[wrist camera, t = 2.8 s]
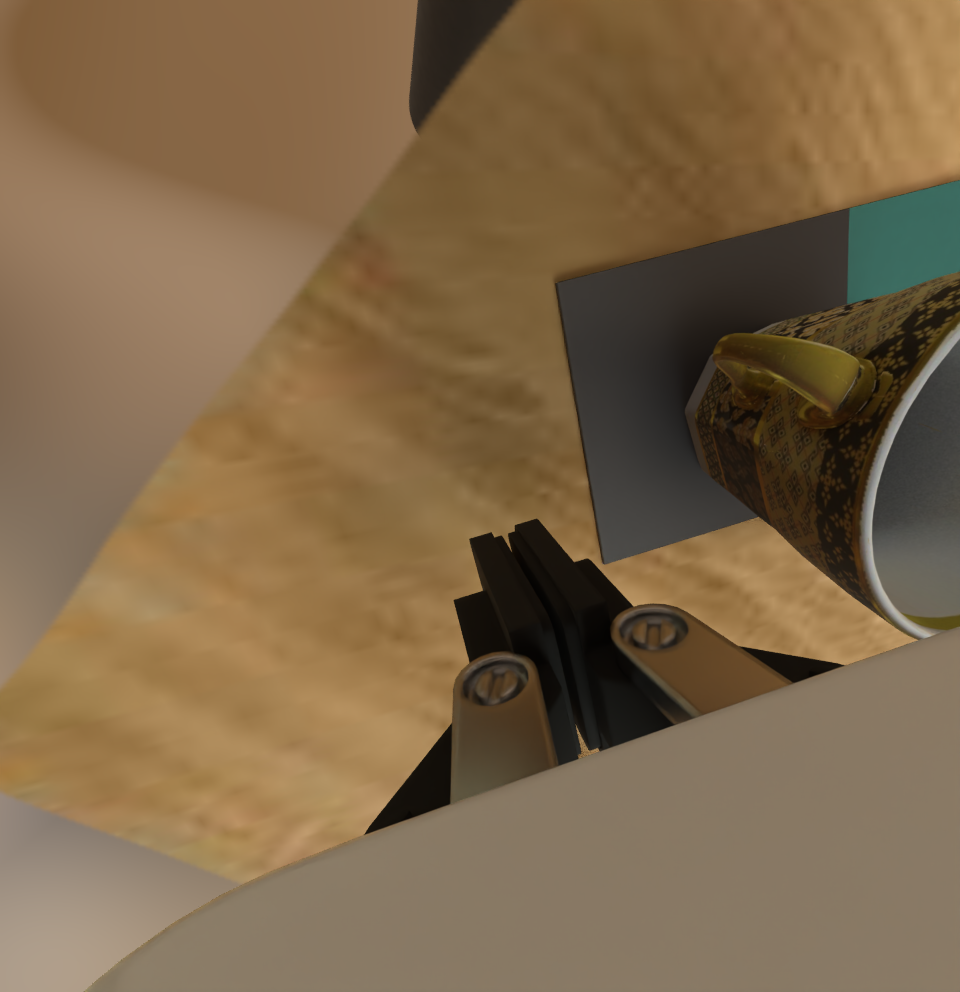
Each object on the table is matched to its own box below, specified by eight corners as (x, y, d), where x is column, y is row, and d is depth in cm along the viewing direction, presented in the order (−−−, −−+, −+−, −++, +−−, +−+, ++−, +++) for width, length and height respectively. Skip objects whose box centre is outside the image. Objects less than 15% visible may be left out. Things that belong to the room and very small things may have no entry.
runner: (555, 282, 18) (556, 282, 18) (1105, 143, 20) (1112, 141, 20) (602, 562, 22) (604, 564, 22) (1055, 422, 24) (1060, 423, 24)
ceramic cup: (902, 337, 21) (1306, 342, 12) (786, 542, 24) (1047, 681, 14) (652, 203, 18) (945, 59, 8) (546, 459, 20) (682, 570, 11)
